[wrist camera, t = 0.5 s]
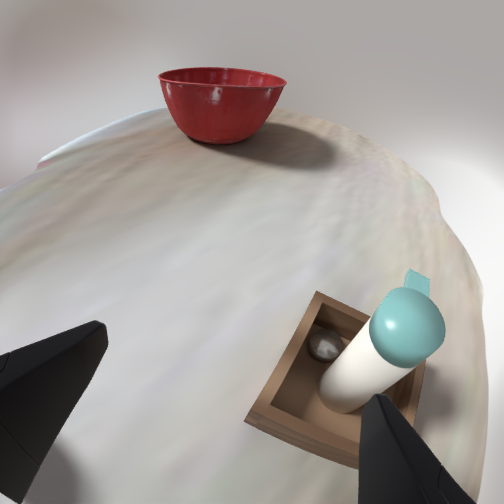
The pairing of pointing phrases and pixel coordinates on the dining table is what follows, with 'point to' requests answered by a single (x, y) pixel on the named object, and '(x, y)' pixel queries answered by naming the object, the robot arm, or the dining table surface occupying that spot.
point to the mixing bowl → (220, 101)
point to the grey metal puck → (325, 345)
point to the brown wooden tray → (306, 390)
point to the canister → (385, 347)
